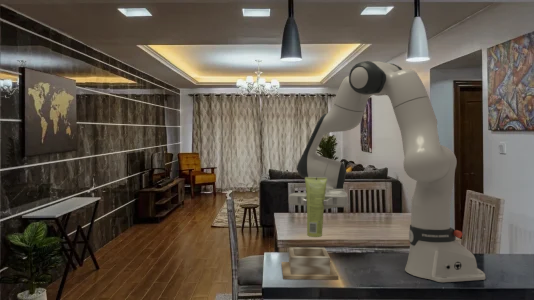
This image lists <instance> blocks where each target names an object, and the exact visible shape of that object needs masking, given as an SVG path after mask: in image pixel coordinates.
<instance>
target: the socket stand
mask: <svg viewBox="0 0 534 300" xmlns="http://www.w3.org/2000/svg"><path fill="white" fill-rule="evenodd" d="M281 271H282V279H283V280H334V281H335V280H339V274H338V273H337V271H336V269H335V266H334V265H333V263H332V262H331V257H330V255H329V253H328V251H327V249H326V248H325V247H292V246H291V247H290V246H289V247H288V261H281Z"/></svg>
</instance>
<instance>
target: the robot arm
mask: <svg viewBox="0 0 534 300" xmlns="http://www.w3.org/2000/svg"><path fill="white" fill-rule="evenodd" d="M371 96H377V97H381V96H387V97H388V99H389V101H390V104H391V106H392V110H393V112H394V115H395V119H396V123H397V124H398V127H399V128H398V129H399V131H400V134H401V135H400V136H401V141H402V150H403V156H404V158H403V169H404V172H405V174H406V175H407V176H408V177H409V178H411V179H412V180H414V181H416V184H415V189H414V192H413V195H412V198H411V210H410V211H411V216H410V217H411V220H410V221H411V224H409V232H408V237H409V238H408V240H409V251H408V257H407V262H406V265H405V268H404V271H405V272H406V273H407V274H410V275H411V276H414V277H418V278H422V279H426V280H427V279H428V280H431V281H434V282H438V283H451V282H453V283H454V282H469V281H482V280H483V281H484V280H486V273H485V272H484V271H482V270H481V269H480V268H478V264H477V259H476V257H475V255H474V253H472V252H471V251H470V250H469V249H468V248H466V247H465V246H464V245H463V244H461V243H460V242H459V241H458V240H457V239H456V238H458V239H461V238H462V237H463V235H464V234H463V232H462V230H458V229H454V228H452V227H451V204H452V203H451V201H452V194H453V188H454V183H455V173H456V169H457V162H458V161H457V158H456V155H455V153H454V152H453V151H452V150H451V149H450V148H449V147H447V146H445V145H441V141H440V137H439V131H438V120H437V116H436V114H435V111H434V108H433V106H432V105H433V104H432V103H431V100H430V96H429V94H428V91H427V90H426V86H425V85H424V83H423V81H422V79H421V78H420V76H419V75H418V73H417V72H416V71H415V70H413V69H410V68H405V69H404V68H402V67H401V66H399V65H397V64H394V63H388V62H385V61H378V60H377V61H370V60H369V61H368V60H366V61H360V62H358V63H356V64H354V65H353V66H352V68H351V69H350V71H349V73H348V75H347V76H345V78H343V80H342V82H341V83H340V85H339V88H338V90H337V92H336V95H335V98H334V102H333V104H332V107H331V109H330V110H329V111H328V112H327V113H324V114H322V115H321V116H320V118H319V119H318V121H317V123H316V125H315V127H314V129H313V131H312V134H311V135H310V136H309V137H310V138H309V140H308V141H307V144H306V146H305V147H304V148H305V149H304V151H303V152H302V154H301V156H300V157H299V159H298V161H297V164H296V172H297V174H298V175H299V176H300V178H303V179H305V177H316V178H327V183H326V191H325V200H324V210H328V209H329V210H330V209H333V208H334V209H335V208H344V207H348V206H349V205H348V203H349V201H348V196H349V195H348V193H347V192H346V189H345V188H343V186H344V183H345V181H346V177H347V169H346V167H345V164H344V163H343V162H342V161H339V160H336V159H332V158H329V157H328V158H327V157H325V156H323V155H319V154H317V150H318V148H319V146H320V144H321V142H322V140H323V137H325V135H327V134H329V133H338V132H340V133H341V132H347V131H351V130H353V129H355V128H357V126H358V125H360V123H361V122H362V119H363V116H364V113H365V109H366V107H367V103H368V100H369V99H370V97H371ZM288 204H289V205H290V206H307V197H306V192H292V193H290V194H289V195H288Z"/></svg>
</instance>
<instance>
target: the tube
mask: <svg viewBox="0 0 534 300" xmlns="http://www.w3.org/2000/svg"><path fill="white" fill-rule="evenodd" d="M326 183H327V178H316V177H305V178H304V184H305V193H306V197H307V205H306V233H307V234H306V236H308V237H309V238H310V237H311V238H321V237H322V236H323V225H324V211H325V209H324V200H325V191H326Z"/></svg>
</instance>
